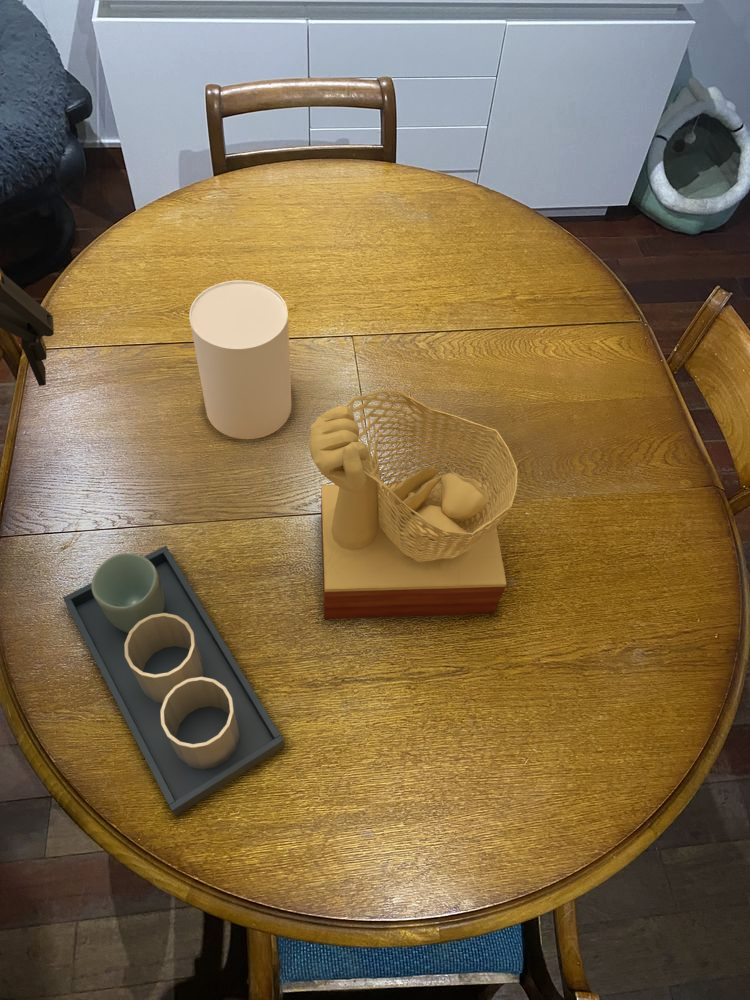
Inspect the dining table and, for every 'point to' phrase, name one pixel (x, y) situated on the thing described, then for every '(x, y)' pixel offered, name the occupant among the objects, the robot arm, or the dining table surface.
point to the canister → (243, 357)
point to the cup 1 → (128, 590)
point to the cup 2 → (155, 637)
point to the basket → (409, 515)
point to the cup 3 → (186, 701)
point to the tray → (144, 714)
